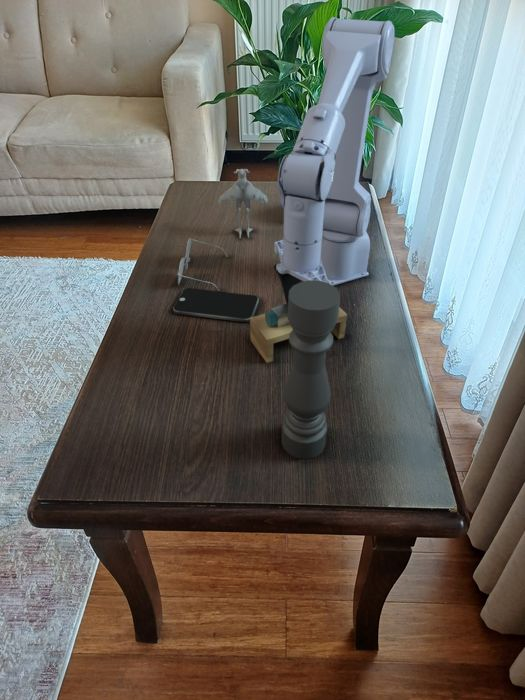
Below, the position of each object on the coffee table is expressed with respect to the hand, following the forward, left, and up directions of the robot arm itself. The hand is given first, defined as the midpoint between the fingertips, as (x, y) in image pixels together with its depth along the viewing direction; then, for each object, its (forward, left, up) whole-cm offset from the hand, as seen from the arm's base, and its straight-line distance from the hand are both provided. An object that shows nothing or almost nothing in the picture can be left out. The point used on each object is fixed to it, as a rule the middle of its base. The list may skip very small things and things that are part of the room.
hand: (299, 309), depth 86 cm
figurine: (-7, -38, -6) cm, 39 cm away
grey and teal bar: (0, 0, -1) cm, 1 cm away
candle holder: (+10, +20, -6) cm, 23 cm away
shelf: (0, 0, -6) cm, 6 cm away
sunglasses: (+7, -27, -6) cm, 29 cm away
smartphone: (+9, -15, -6) cm, 19 cm away
